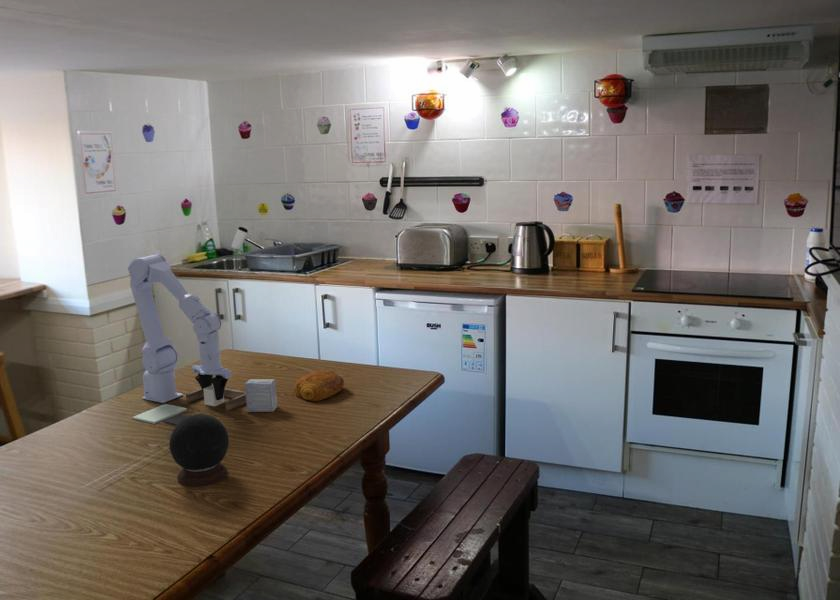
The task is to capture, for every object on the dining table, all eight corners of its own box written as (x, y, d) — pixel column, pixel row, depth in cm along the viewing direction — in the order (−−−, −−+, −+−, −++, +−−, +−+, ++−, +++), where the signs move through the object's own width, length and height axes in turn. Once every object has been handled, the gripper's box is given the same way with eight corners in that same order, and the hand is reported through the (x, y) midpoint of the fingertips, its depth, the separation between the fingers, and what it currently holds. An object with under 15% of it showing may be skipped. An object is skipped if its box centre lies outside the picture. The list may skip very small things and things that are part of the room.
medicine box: (277, 407, 221) (275, 378, 219) (273, 412, 216) (271, 383, 214) (251, 406, 221) (249, 378, 220) (246, 412, 217) (244, 383, 215)
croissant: (352, 396, 234) (353, 371, 233) (319, 405, 221) (321, 378, 220) (316, 388, 242) (317, 364, 241) (282, 396, 229) (284, 370, 228)
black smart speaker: (243, 469, 179) (238, 409, 176) (206, 493, 167) (200, 429, 164) (199, 461, 184) (193, 403, 181) (160, 483, 173) (153, 422, 170)
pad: (132, 419, 215) (132, 417, 214) (165, 405, 225) (165, 403, 225) (154, 424, 210) (154, 422, 210) (187, 410, 220) (186, 408, 220)
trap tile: (163, 422, 211) (163, 421, 211) (180, 415, 216) (180, 414, 216) (179, 425, 208) (178, 424, 208) (195, 418, 213) (195, 417, 213)
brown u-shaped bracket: (186, 402, 227) (185, 394, 227) (209, 392, 235) (209, 385, 235) (228, 410, 219) (227, 402, 218) (250, 400, 227) (250, 392, 226)
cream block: (204, 404, 225) (203, 388, 224) (214, 400, 228) (213, 384, 227) (214, 406, 223) (213, 390, 222) (224, 402, 226) (222, 386, 225)
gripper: (182, 355, 223) (186, 398, 225) (218, 360, 215) (222, 405, 218) (199, 349, 228) (204, 391, 231) (235, 354, 221) (239, 398, 224)
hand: (214, 398), depth 225 cm, fingers closed on cream block, 4 cm apart
